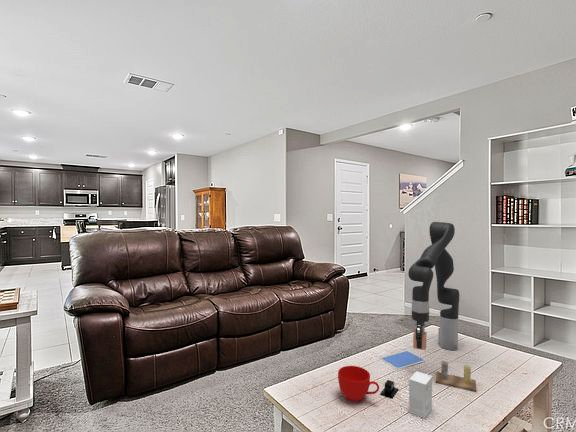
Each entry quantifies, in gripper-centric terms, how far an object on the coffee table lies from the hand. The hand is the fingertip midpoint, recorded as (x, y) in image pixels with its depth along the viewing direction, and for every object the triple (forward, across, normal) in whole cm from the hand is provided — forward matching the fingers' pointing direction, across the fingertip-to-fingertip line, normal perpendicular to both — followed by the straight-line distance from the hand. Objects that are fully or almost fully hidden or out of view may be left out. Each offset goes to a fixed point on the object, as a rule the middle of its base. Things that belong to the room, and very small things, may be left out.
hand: (419, 345), depth 151 cm
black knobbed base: (+15, +20, -10) cm, 27 cm away
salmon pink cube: (+1, 0, 0) cm, 1 cm away
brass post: (+15, -2, +19) cm, 24 cm away
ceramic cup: (+14, +31, -20) cm, 40 cm away
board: (+15, -2, +15) cm, 21 cm away
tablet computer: (+15, -13, -9) cm, 22 cm away
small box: (+14, +27, +3) cm, 31 cm away
